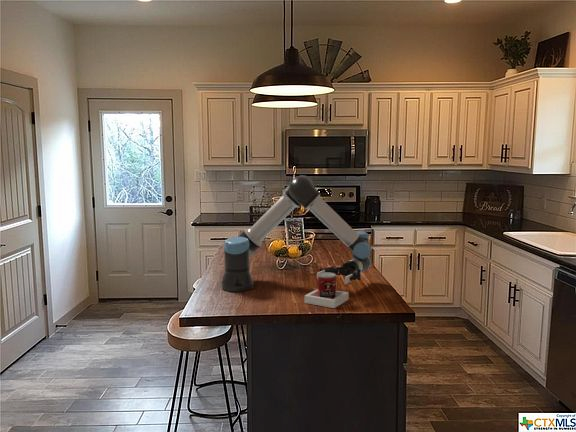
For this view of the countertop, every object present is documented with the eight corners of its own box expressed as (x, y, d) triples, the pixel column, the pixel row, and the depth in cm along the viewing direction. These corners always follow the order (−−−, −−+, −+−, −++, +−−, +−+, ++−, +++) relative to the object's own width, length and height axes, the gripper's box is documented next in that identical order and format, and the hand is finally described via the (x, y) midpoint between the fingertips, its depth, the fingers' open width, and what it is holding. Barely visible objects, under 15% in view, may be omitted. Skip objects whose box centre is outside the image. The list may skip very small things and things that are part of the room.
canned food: (318, 302, 196) (319, 276, 195) (316, 296, 204) (317, 272, 203) (337, 302, 196) (337, 276, 195) (334, 296, 204) (334, 271, 203)
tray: (304, 302, 198) (304, 295, 198) (319, 294, 210) (320, 287, 209) (334, 308, 191) (334, 300, 190) (348, 299, 202) (348, 292, 202)
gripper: (376, 279, 213) (357, 290, 195) (328, 272, 226) (306, 282, 209) (377, 263, 212) (358, 273, 194) (328, 257, 225) (306, 266, 208)
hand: (331, 278), depth 201 cm, fingers open, 13 cm apart
